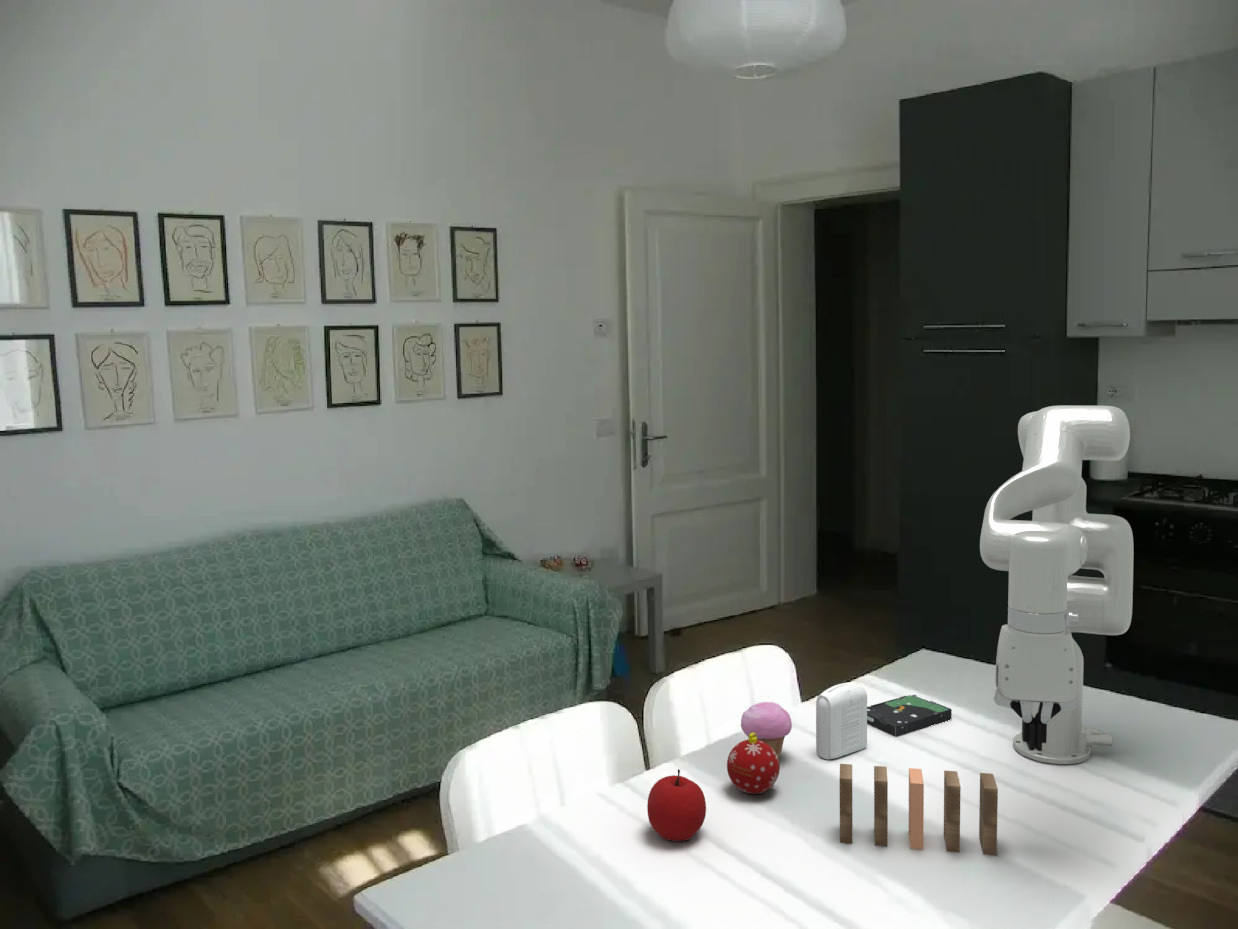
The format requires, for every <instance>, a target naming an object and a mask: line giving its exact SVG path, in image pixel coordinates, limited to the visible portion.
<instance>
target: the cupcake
mask: <svg viewBox="0 0 1238 929" xmlns="http://www.w3.org/2000/svg"><path fill="white" fill-rule="evenodd" d="M792 724H793V723H792V718H791V716H790V714H789V712H788V711H787V710H786V709H784V708H783V707H782V706H781V705H780V704H779V703H777V702H773V701H762V702H758V703H756V704H755V703H754V704H753V705H750V707H749V708H748V709H746V710H745V711H743V713H742V715H741V719H740V727H741V730H742V732H743V733H744V735H745V736H746V737H747V738H748V739H749V735H750V733H755V734H756V737H757V740H760V741H763V742H765V743H767V744H768V745H769V746H770V747H771V748H772V749H773V750H774V751H775V753H776V755H777V757H778V760H779V759H780V757H781V754H782V750H783V746H784V740H785V737H786V736H788V735H789V734H790V733H791V731H792V728H793V727H792V726H793V725H792ZM752 736H754V734H753V735H752Z"/></svg>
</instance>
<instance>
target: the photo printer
mask: <svg viewBox="0 0 1238 929" xmlns="http://www.w3.org/2000/svg"><path fill="white" fill-rule="evenodd" d="M867 693H868V692H867V691H866V688H865V687H864V686H863V685H862V684H859V683H855V682H843V683H838V684H836V685H833V686H831V687H829V688H827V689H825V690H824V691H822V693H820V694H819V695H818V696H817V698H816V701H815V703H816V704H815V706H816V707H815V716H816V718H815V733H816V734H815V746H816V747H815V750H816V753H817V755H818V757H819V758H822V759H824V760H832V759H838V758H841V757H844V756H846V755H850V754H852V753H854V752H858V751H860V750H864V749H865V748H867V745H868V724H867V707H868V694H867Z"/></svg>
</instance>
